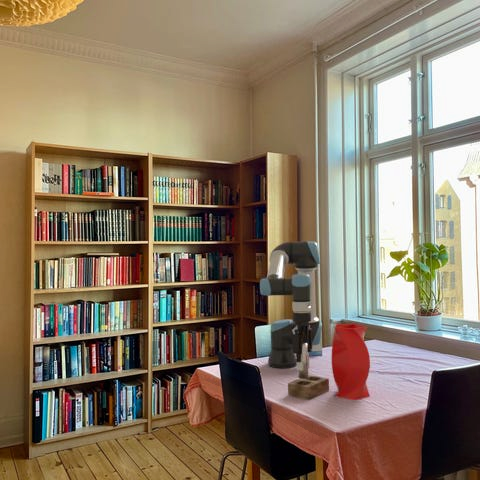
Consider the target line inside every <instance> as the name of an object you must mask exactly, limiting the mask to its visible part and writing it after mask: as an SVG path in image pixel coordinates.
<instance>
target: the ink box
mask: <svg viewBox="0 0 480 480" xmlns="http://www.w3.org/2000/svg"><path fill="white" fill-rule="evenodd" d="M322 339H323V337H322V334H321V339H320V343H319V344H318V345H312V349H310V350H312V351H311V352H309V355H317V356H323V342H322V341H323V340H322Z"/></svg>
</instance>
